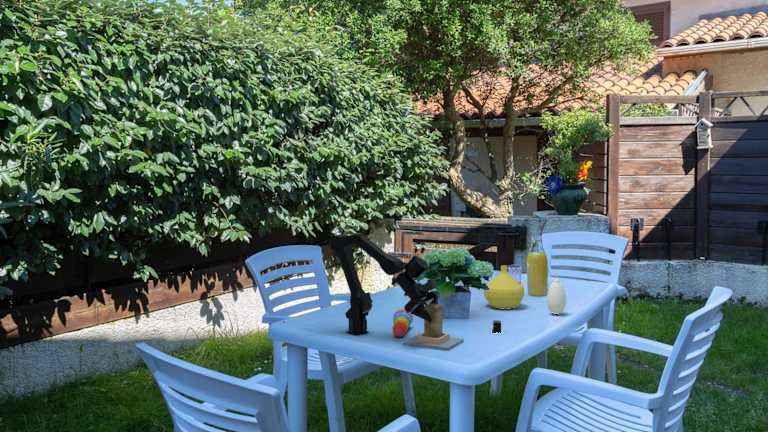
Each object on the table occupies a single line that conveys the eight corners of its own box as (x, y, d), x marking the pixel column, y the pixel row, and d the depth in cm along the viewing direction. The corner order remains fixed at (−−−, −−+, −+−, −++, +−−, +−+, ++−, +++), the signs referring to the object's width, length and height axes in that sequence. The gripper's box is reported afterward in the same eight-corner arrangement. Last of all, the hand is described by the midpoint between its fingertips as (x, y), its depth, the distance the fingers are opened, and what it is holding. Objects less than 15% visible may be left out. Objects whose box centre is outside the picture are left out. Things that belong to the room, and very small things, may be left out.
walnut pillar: (424, 341, 246) (424, 305, 245) (430, 338, 250) (430, 303, 249) (436, 342, 243) (436, 307, 243) (442, 339, 248) (442, 304, 247)
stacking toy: (397, 328, 273) (391, 344, 255) (391, 310, 273) (384, 325, 254) (415, 323, 272) (410, 339, 254) (409, 305, 271) (404, 319, 253)
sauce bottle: (558, 317, 287) (558, 275, 286) (543, 314, 294) (543, 273, 292) (569, 314, 292) (569, 273, 291) (554, 312, 298) (554, 271, 297)
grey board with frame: (402, 344, 245) (402, 336, 245) (420, 335, 257) (420, 328, 257) (448, 350, 236) (448, 342, 236) (463, 341, 249) (463, 333, 248)
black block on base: (487, 329, 270) (487, 317, 270) (505, 329, 270) (505, 318, 269) (488, 336, 258) (488, 324, 258) (508, 337, 257) (508, 325, 257)
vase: (475, 307, 310) (475, 265, 309) (500, 301, 322) (501, 261, 321) (507, 313, 296) (507, 270, 295) (532, 307, 309) (532, 265, 307)
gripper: (411, 275, 239) (440, 309, 234) (434, 268, 255) (461, 300, 250) (392, 295, 243) (419, 329, 239) (416, 287, 260) (442, 319, 255)
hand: (436, 319), depth 246 cm, fingers open, 9 cm apart
